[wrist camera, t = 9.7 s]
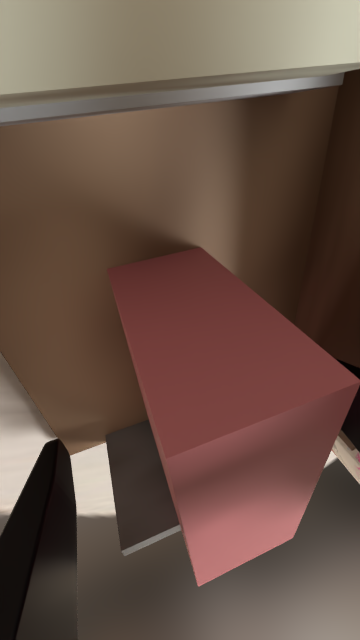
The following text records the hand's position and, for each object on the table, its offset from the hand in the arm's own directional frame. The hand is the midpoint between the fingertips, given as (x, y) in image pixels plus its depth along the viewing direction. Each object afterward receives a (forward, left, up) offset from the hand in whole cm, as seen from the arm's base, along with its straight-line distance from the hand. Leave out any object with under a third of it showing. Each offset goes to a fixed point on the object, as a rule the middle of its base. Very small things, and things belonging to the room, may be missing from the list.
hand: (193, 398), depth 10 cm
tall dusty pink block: (0, 0, -3) cm, 3 cm away
